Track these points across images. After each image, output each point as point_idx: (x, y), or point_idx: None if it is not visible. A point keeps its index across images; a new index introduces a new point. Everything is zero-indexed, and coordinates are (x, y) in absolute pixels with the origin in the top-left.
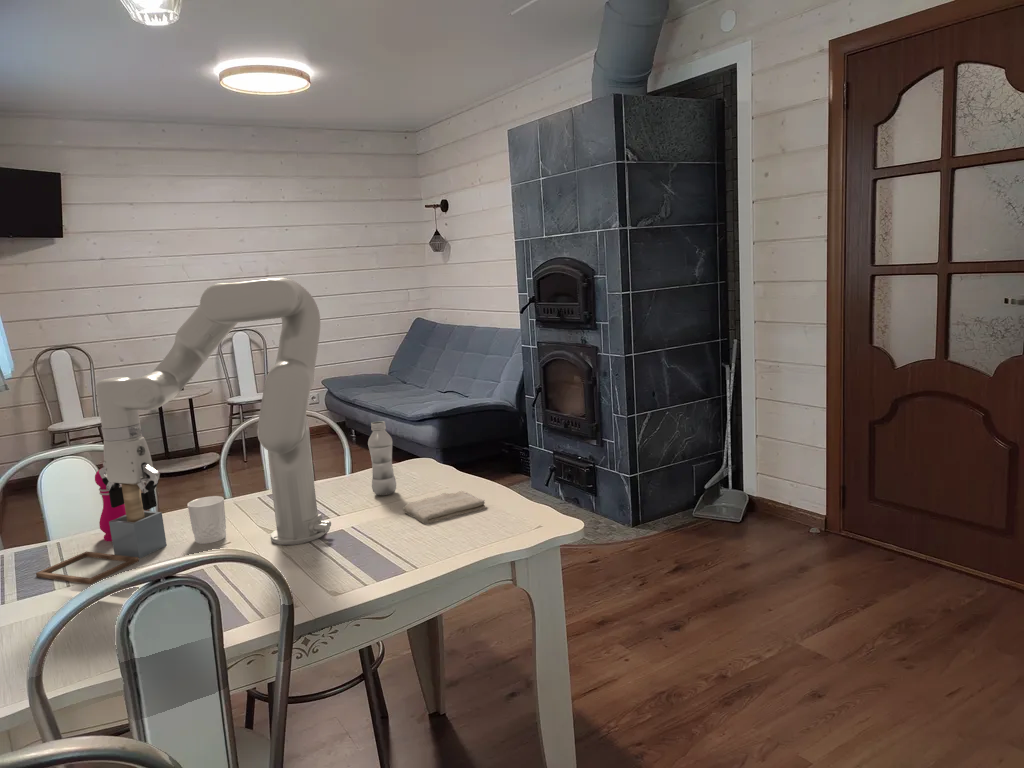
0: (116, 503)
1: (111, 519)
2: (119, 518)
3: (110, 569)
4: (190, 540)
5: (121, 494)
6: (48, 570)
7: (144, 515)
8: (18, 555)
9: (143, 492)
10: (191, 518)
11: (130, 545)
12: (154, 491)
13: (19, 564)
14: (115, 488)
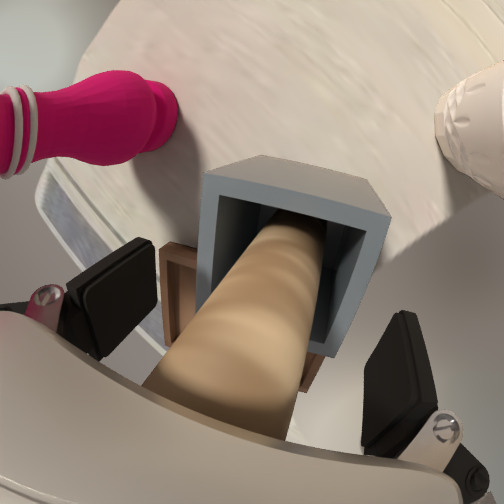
0: (147, 298)
1: (109, 157)
2: (210, 289)
3: (317, 360)
4: (396, 102)
5: (117, 285)
6: (171, 332)
7: (313, 258)
8: (53, 221)
9: (376, 447)
10: (498, 192)
11: None
12: (433, 385)
13: (82, 258)
14: (85, 338)
